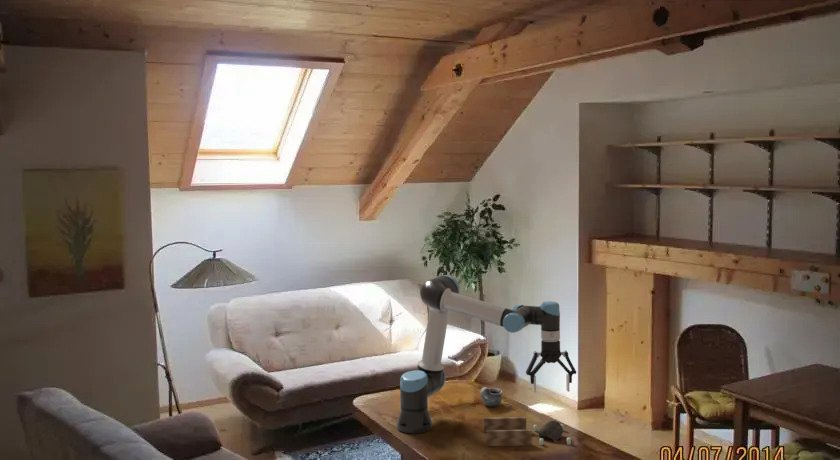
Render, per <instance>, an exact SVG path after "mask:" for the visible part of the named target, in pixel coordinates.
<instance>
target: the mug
mask: <svg viewBox="0 0 840 460" xmlns="http://www.w3.org/2000/svg"><path fill="white" fill-rule="evenodd" d="M502 394H503V390H502V389H500V388H497V387H487V386H484V387H482V388H481V389H480V391H479V395H480V398H481V401H482V403H483V404H484V405H485V406H487V407H490V408H493V407H498V406H499V405H500V404H501V402H502Z"/></svg>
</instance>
